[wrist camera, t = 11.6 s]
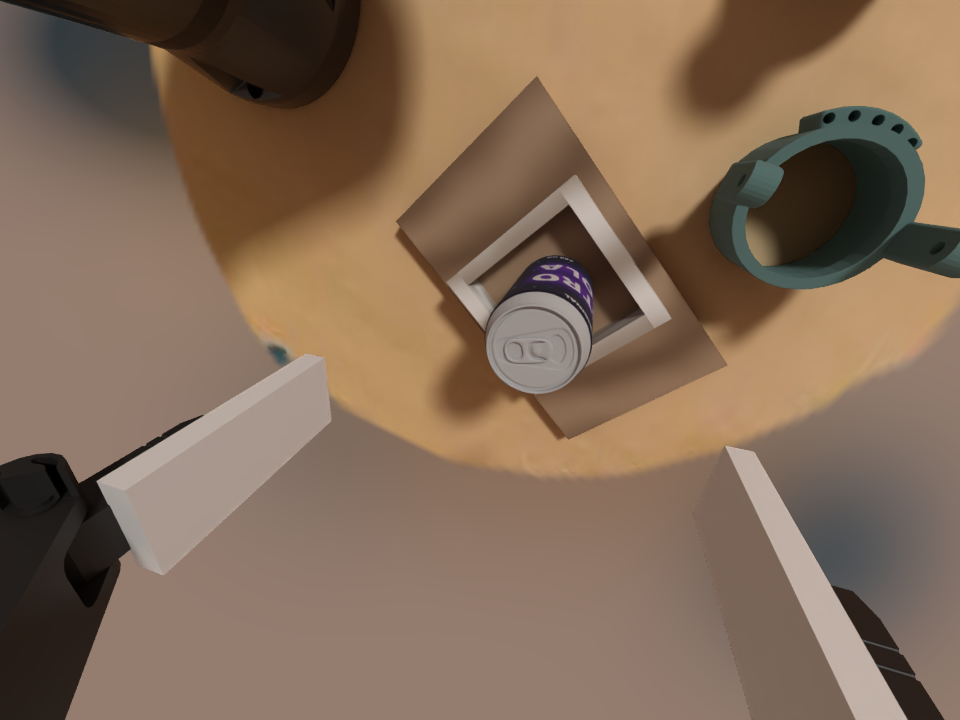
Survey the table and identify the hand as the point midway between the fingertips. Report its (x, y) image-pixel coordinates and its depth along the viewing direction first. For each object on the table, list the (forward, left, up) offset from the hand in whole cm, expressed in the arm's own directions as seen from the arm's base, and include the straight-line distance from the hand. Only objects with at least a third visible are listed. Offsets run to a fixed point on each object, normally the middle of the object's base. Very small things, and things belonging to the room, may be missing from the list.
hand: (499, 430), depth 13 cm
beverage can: (0, 0, -19) cm, 19 cm away
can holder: (0, 0, -21) cm, 21 cm away
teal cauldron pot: (+4, +15, -21) cm, 26 cm away
